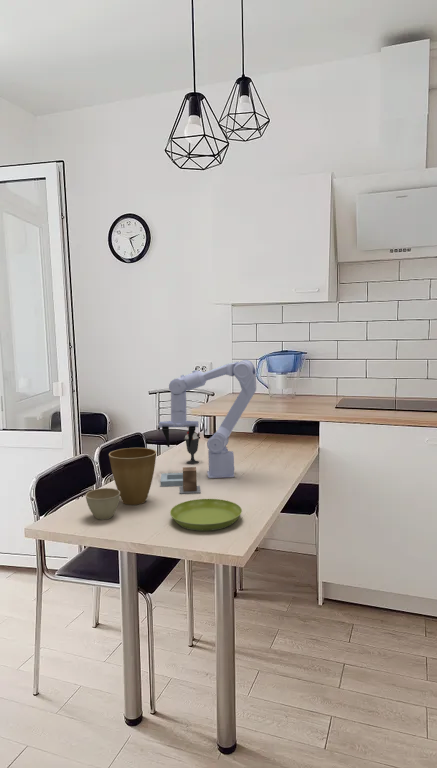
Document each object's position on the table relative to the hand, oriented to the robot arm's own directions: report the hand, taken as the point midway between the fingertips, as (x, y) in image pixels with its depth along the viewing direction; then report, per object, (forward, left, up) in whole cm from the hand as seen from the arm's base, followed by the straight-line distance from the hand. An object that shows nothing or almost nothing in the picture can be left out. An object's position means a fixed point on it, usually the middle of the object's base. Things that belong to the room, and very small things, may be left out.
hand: (178, 446), depth 209 cm
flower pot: (+23, +43, -11) cm, 50 cm away
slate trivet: (-3, +21, -10) cm, 24 cm away
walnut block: (-3, +21, -10) cm, 23 cm away
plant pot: (+15, +30, -11) cm, 35 cm away
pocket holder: (+2, +11, -10) cm, 15 cm away
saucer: (-7, +49, -11) cm, 51 cm away
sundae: (-5, -15, -11) cm, 19 cm away
